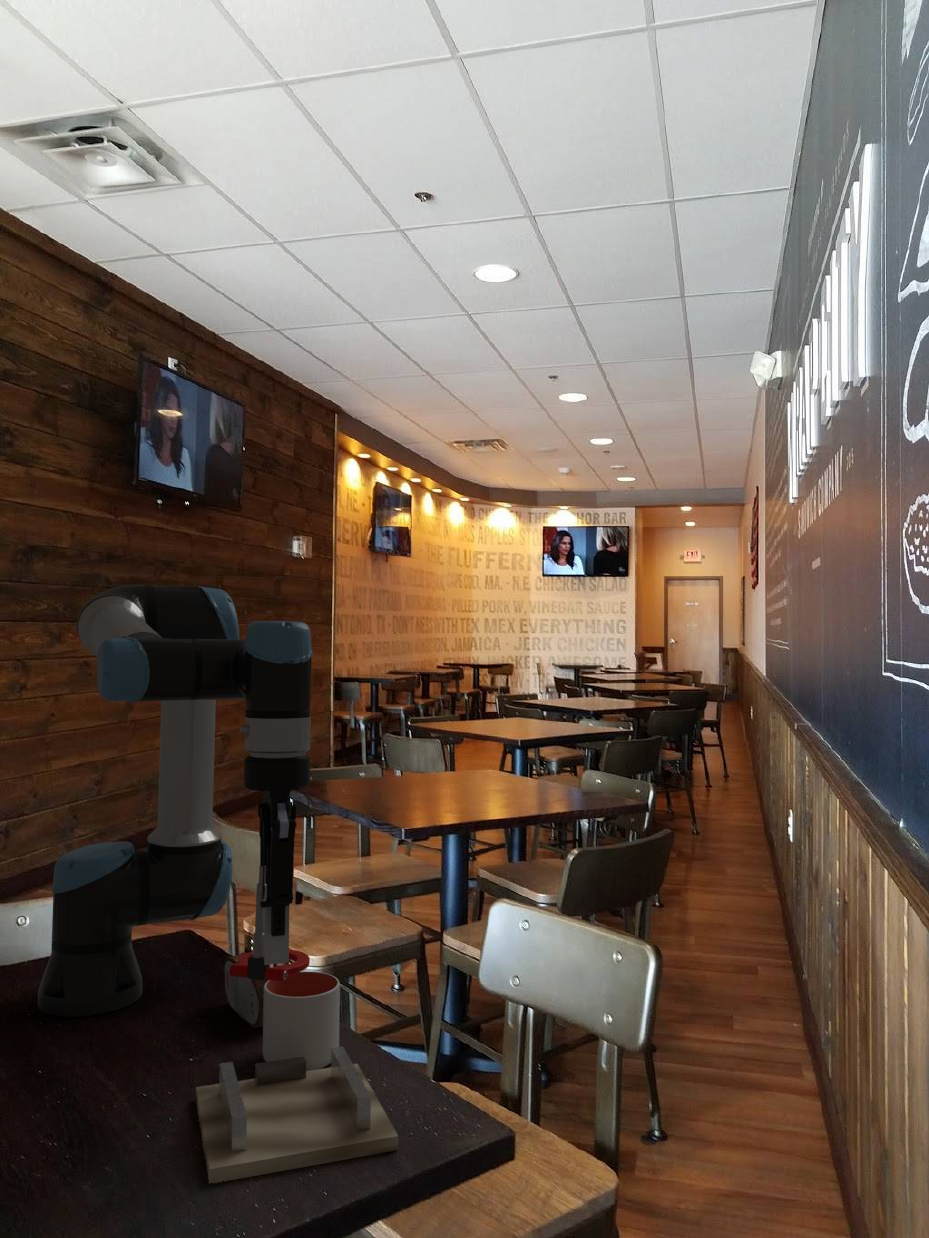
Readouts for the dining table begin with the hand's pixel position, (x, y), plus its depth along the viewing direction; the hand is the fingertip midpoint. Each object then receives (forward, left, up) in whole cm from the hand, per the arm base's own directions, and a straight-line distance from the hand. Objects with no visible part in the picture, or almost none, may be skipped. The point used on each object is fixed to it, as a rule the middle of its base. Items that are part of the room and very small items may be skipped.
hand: (274, 958), depth 108 cm
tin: (-33, +1, -19) cm, 38 cm away
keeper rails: (-1, +2, -17) cm, 18 cm away
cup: (-16, +6, -19) cm, 26 cm away
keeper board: (0, +2, -19) cm, 19 cm away
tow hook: (-3, 0, -2) cm, 4 cm away
